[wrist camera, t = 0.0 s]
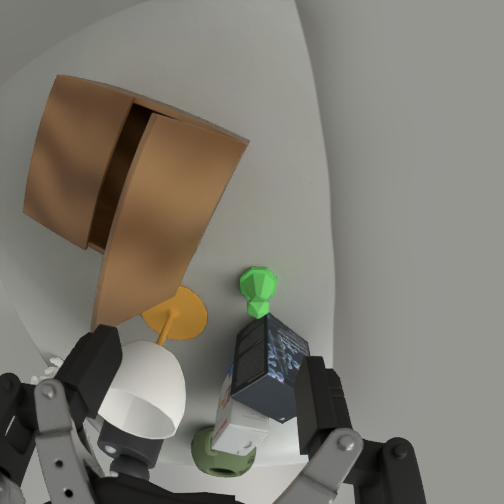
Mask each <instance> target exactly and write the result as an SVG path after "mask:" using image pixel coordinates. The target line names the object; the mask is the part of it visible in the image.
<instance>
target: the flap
mask: <svg viewBox="0 0 504 504" xmlns="http://www.w3.org/2000/svg"><path fill="white" fill-rule="evenodd" d="M245 147H246V144H245V143H243V142H240V141H237V140H235V139H232V138H229V137H227V136H224V135H221V134H218V133H215V132H212V131H210V130H207V129H204V128H201V127H198V126H195V125H192V124H188V123H185V122H182V121H179V120H176V119H172V118H169V117H165V116H162V115H159V114H155V113H152V115H151V117H150V119H149V121H148V124H147V126H146V128H145V131H144V133H143V135H142V138H141V140H140V143H139V145H138V148H137V150H136V153H135V156H134V158H133V161H132V164H131V166H130V169H129V172H128V175H127V178H126V180H125V183H124V186H123V189H122V192H121V196H120V199H119V202H118V205H117V208H116V212H115V215H114V219H113V222H112V226H111V230H110V233H109V237H108V241H107V245H106V249H105V253H104V258H103V262H102V267H101V271H100V276H99V281H98V286H97V292H96V297H95V303H94V309H93V316H92V323H91V331H90V332H91V333H93V332H94V331H95V329H96V328H97V326H98V325H99V324H104V325H108V326H113V327H114V326H116V325H118V324H120V323H122V322H124V321H126V320H128V319H130V318H132V317H134V316H136V315H138V314H140V313H142V312H144V311H146V310H148V309H150V308H152V307H154V306H156V305H158V304H160V303H163V302H165V301H167V300H169V299H171V298H173V297H175V294H176V292H177V290H178V287H179V285H180V283H181V281H182V278H183V276H184V274H185V271H186V269H187V267H188V265H189V262H190V260H191V258H192V256H193V253H194V251H195V249H196V247H197V245H198V242H199V240H200V238H201V236H202V234H203V232H204V229H205V227H206V225H207V223H208V221H209V219H210V217H211V215H212V213H213V210H214V208H215V206H216V204H217V202H218V200H219V198H220V196H221V194H222V192H223V190H224V188H225V186H226V184H227V182H228V180H229V178H230V176H231V174H232V172H233V170H234V168H235V166H236V164H237V162H238V160H239V158H240V156H241V154H242V153H243V151H244V149H245Z"/></svg>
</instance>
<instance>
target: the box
mask: <svg viewBox="0 0 504 504" xmlns="http://www.w3.org/2000/svg"><path fill="white" fill-rule="evenodd" d="M304 356H310V351H309V346H308V342H307V341H305V340H304V339H302V338H301V337H300V336H299V335H297V334H296V333H295V332H293V331H292V330H291V329H289V328H288V327H287V326H285V325H284V324H283V323H282V322H280V321H279V320H278V319H277V318H275V317H274V316H273V315H272V314H270V313H267V314H266V315H264V316H263V317H261V318H259V319H256V320H255V321H253V322H252V323H251V324H250V325H248V326H247V327H246V328H245V329H243V330H242V331H241V332H240V333H238V334H237V340H236V349H235V357H234V365H233V373H232V382H231V390H230V398H231V399H234V400H235V401H238V402H240V403H242V404H244V405H246V406H248V407H250V408H252V409H254V410H256V411H258V412H260V413H262V414H264V415H266V416H268V417H270V418H272V419H274V420H276V421H278V422H280V423H282V424H283V423H284V422H286V421H288V420H290V419H292V418H294V417H296V416H297V415H296V404H295V394H294V385H295V379H296V376H297V373H298V371H299V368H300V365H301V362H302V359H303V357H304Z"/></svg>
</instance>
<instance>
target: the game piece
mask: <svg viewBox="0 0 504 504" xmlns="http://www.w3.org/2000/svg"><path fill="white" fill-rule="evenodd" d="M276 282H277V279H276V276H275V275H274V274H273V273H272V272H271V271H270V270H269V269H268V268H267V267H250V268H249V269H248V270H247V271H246V272H244V273H243V274H242V275H241V277H240V292H241V293H242V294H243V295H244V296H245V297H247V298H248V299H249V301H247V313H248V314H250V315H251V316H253V317H255V318H257V319H259V318H261V317H263V316H264V315H266V314H267V313H269V301H268V300H267V299H268V298H270V297H271V296H272V295H274V294H275V293H276Z"/></svg>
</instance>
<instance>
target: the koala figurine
mask: <svg viewBox="0 0 504 504" xmlns="http://www.w3.org/2000/svg"><path fill="white" fill-rule="evenodd" d="M50 362H52V363H53V364H55V365H56V367H48V368H46V369H45V370H44V372H43V373H44V375H41V376H40V378H39V379H38V378H37V377H36V376H32V378H31V382H30V384H34V385H37V384H38V383H39V382H40V381H42V380H44V379H48V378H53V377H54V376H55V374H56V373H57V371H58V370H59V368H60V367H61V365H62V364H63V362H64V361H63V360H61V359H60V358H59V357H56V358H54V357H53V358H50Z"/></svg>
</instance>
